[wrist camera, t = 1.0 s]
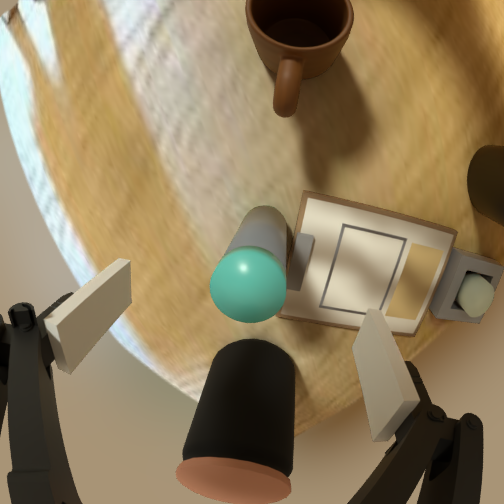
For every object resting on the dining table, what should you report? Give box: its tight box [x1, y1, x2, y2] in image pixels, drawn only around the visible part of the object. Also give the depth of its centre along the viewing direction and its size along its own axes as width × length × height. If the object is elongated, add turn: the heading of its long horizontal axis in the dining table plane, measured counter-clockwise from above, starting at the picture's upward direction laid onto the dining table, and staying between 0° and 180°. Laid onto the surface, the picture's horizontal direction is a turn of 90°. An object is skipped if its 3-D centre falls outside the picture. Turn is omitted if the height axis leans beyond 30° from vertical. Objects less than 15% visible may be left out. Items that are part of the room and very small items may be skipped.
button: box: [455, 272, 494, 317], centre depth 26 cm, size 4×4×3 cm
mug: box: [245, 0, 354, 117], centre depth 19 cm, size 12×8×9 cm, turn 171°
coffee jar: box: [176, 339, 295, 504], centre depth 28 cm, size 11×11×18 cm
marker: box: [210, 206, 287, 323], centre depth 23 cm, size 4×4×14 cm
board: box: [276, 190, 458, 337], centre depth 29 cm, size 14×18×2 cm
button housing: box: [429, 247, 504, 324], centre depth 28 cm, size 8×8×2 cm
